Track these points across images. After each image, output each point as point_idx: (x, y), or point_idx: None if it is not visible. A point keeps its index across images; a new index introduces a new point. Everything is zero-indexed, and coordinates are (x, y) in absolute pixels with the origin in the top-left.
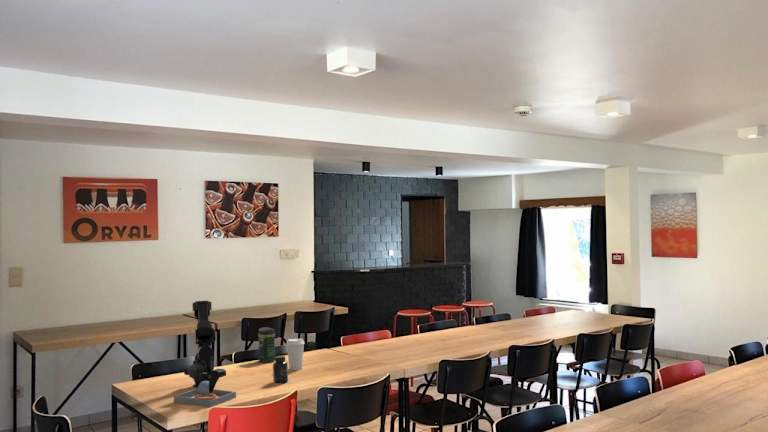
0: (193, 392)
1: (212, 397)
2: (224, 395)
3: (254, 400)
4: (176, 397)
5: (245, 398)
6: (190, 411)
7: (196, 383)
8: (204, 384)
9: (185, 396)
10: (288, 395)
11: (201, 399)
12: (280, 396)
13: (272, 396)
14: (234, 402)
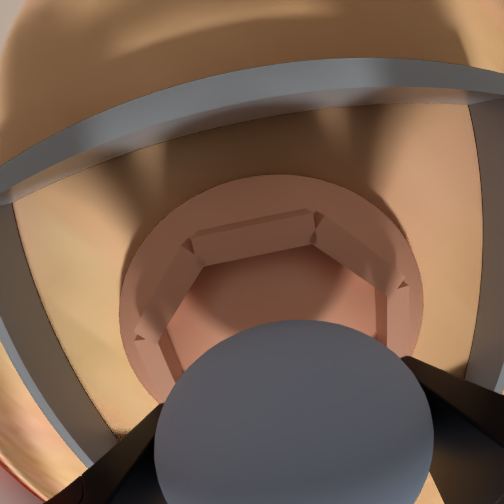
0: (493, 347)
1: (149, 371)
2: (51, 415)
3: (20, 441)
4: (485, 73)
5: (78, 463)
6: (41, 5)
7: (498, 416)
8: (205, 496)
9: (498, 236)
10: (44, 499)
11: (40, 153)
12: (42, 491)
13: (54, 491)
14: (21, 385)
